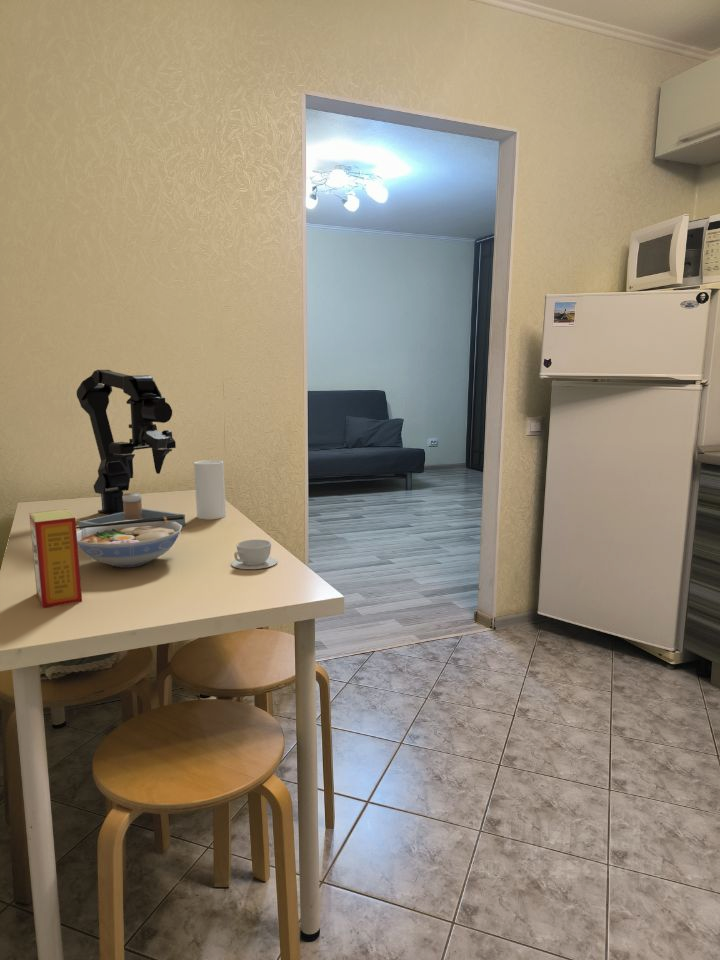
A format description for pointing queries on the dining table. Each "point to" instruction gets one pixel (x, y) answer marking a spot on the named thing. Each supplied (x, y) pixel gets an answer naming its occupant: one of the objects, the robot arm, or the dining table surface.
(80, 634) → the dining table surface
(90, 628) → the dining table surface
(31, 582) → the dining table surface
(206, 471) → the cup
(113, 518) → the tray
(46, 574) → the baking soda box
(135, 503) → the shaker
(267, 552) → the teacup
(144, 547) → the ramen bowl
